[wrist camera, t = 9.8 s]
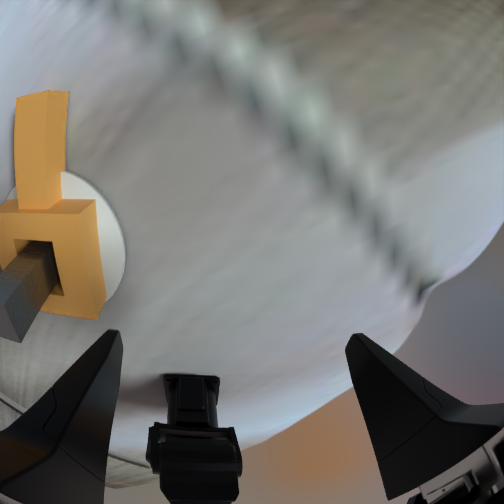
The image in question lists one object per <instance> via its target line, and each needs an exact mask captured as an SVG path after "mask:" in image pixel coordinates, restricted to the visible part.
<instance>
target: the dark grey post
mask: <svg viewBox="0 0 504 504" xmlns="http://www.w3.org/2000/svg"><path fill="white" fill-rule="evenodd" d="M59 280H60V276H59V272H58V268H57V263H56V258H55V253H54V248H53V243H52V241H38V240H32V241H31V242H30V243H29V244H28V245H27V246H26V247H25V248H24V249H23V250H22V251H21V252H20V253H19V254H18V255H17V256H16V257H15V258H14V259H13V260H12V261H11V262H10V263H9V264H8V265H7V266H6V267H5V269H4V270H3V271H2V272H1V273H0V337H3V338H6V339H9V340H12V341H15V342H18V343H21V342H22V340H23V338H24V337H25V335H26V333H27V331H28V329H29V328H30V326H31V324H32V322H33V321H34V319H35V317H36V316H37V314H38V312H39V311H40V309H41V307H42V306H43V304H44V303H45V301H46V299H47V298H48V296H49V295H50V293H51V292H52V290H53V289H54V287H55V286H56V284H57V283H58V281H59Z"/></svg>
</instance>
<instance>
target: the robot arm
mask: <svg viewBox="0 0 504 504" xmlns="http://www.w3.org/2000/svg"><path fill="white" fill-rule="evenodd" d="M345 354H346V358H347V362H348V366H349V371H350V375H351V379H352V383H353V386H354V389H355V392H356V395H357V398H358V401H359V404H360V407H361V410H362V413H363V416H364V420H365V423H366V426H367V429H368V432H369V435H370V439H371V442H372V445H373V448H374V452H375V455H376V459H377V462H378V466H379V470H380V473H381V477H382V481H383V485H384V488H385V492H386V496H387V499H388V500H391V499H394V498H396V497H398V496H400V495H403V494H405V493H407V492H409V491H411V490H413V489H415V488H417V487H419V489H420V493H418V494H416V495H415V496H413V497H411V498H409V500H408V502H407V504H504V403H499V404H489V405H468V404H466V403H463V402H461V401H460V400H458V399H456V398H455V397H453V396H451V395H450V394H448V393H446V392H445V391H443V390H441V389H440V388H438V387H437V386H435V385H434V384H432V383H431V382H429V381H428V380H426V379H425V378H424V377H422V376H421V375H419V374H418V373H417V372H415V371H414V370H413V369H411V368H410V367H408V366H407V365H406V364H404V363H403V362H402V361H400V360H399V359H397V358H396V357H395V356H393V355H392V354H390V353H389V352H388V351H386V350H385V349H383V348H382V347H381V346H379V345H378V344H377V343H375V342H374V341H372V340H371V339H370V338H368V337H367V336H365V335H364V334H363V333H355V334H353V335H352V336H351V338H350V340H349V341H348V343H347V345H346V348H345ZM122 357H123V344H122V339H121V335H120V332H119V331H118V330H113V329H108V330H107V331H106V332H105V333H104V334H103V335H102V336H101V337H100V338H99V339H98V340H97V341H96V342H95V343H94V344H93V345H92V346H91V347H90V348H89V349H88V350H87V351H86V352H85V353H84V354H83V355H82V356H81V357H80V358H79V359H78V360H77V361H76V362H75V363H74V364H73V365H72V366H71V367H70V368H69V369H68V370H67V371H66V372H65V373H64V374H63V375H62V376H61V377H60V378H59V379H58V380H57V381H56V382H55V384H54V385H53V386H52V387H51V388H50V389H49V390H48V391H47V392H46V393H45V394H44V395H43V396H42V397H41V398H40V399H39V400H38V401H37V402H36V403H35V404H34V405H33V406H32V407H31V408H29V409H28V410H27V411H26V412H25V413H24V414H23V415H21V416H20V417H19V418H18V419H17V420H16V421H14V422H13V423H12V424H11V425H10V426H9V427H7V428H6V429H4V430H2V431H0V504H103V503H104V487H105V483H104V482H105V475H106V466H107V457H108V450H109V443H110V436H111V429H112V423H113V418H114V412H115V407H116V402H117V397H118V392H119V385H120V375H121V365H122ZM163 380H164V386H165V392H166V398H167V403H168V415H167V424H163V423H159V422H154V426H153V427H149V435H148V444H147V451H146V460H147V461H148V462H149V463H150V464H151V468H152V470H153V474H158V475H160V489H161V491H162V492H163V494H164V495H165V497H166V498H167V500H168V501H169V502H170V504H231V503H232V502H234V501H235V500H236V499H237V497H238V495H239V488H238V477H241V474H242V456H241V452H240V448H239V445H238V441H237V437H236V434H235V430H234V427H229V428H218V420H217V409H216V405H217V402H218V394H219V386H220V378H219V377H205V376H181V375H164V378H163Z"/></svg>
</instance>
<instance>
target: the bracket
mask: <svg viewBox="0 0 504 504" xmlns="http://www.w3.org/2000/svg"><path fill="white" fill-rule="evenodd" d="M68 98H69V92H68V91H51V90H48V91H43V92H38V93H34V94H29V95H25V96H21V97H18V98H17V99H16V110H15V127H14V161H15V179H16V185H15V187H14V188H13V189H12V191H11V192H10V194H9V196H8V198H7V200H6V202H4V203H3V204H1V205H0V265H1V268H2V271H3V270H4V269H5V267H6V266H7V265H8V264H9V263H10V262H11V261H12V260H13V259H14V258H15V257H16V256H17V255H18V254H19V253H20V252H21V251H22V250H23V249H24V248H25V247H26V246H27V245H28V244H29V243H30V242H31V241H32V240H38V241H52V243H53V248H54V253H55V258H56V263H57V268H58V272H59V276H60V280H59V281H58V283H57V284H56V286H55V287H54V289H53V290H52V292H51V293H50V295H49V296H48V298H47V299H46V301H45V303H44V304H43V306H42V307H41V309H40V311H43V312H48V313H53V314H59V315H65V316H71V317H78V318H84V319H91V320H98V317H99V315H100V312H101V310H102V308H103V305H104V303H105V302H106V301H108V300H109V299H110V298H111V297H112V295H113V294H114V293H115V291H116V290H117V288H118V286H119V283H120V281H121V279H122V276H123V273H124V269H125V264H126V246H125V239H124V235H123V231H122V228H121V225H120V223H119V220H118V218H117V216H116V214H115V212H114V210H113V208H112V207H111V205H110V204H109V202H108V201H107V199H106V198H105V197H104V196H103V194H102V193H101V192H100V191H99V190H98V189H97V188H96V187H95V186H94V185H93V184H91V183H90V182H89V181H87V180H86V179H85V178H83V177H81V176H79V175H77V174H75V173H73V172H70V171H68V170H66V167H65V145H66V121H67V108H68Z"/></svg>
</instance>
